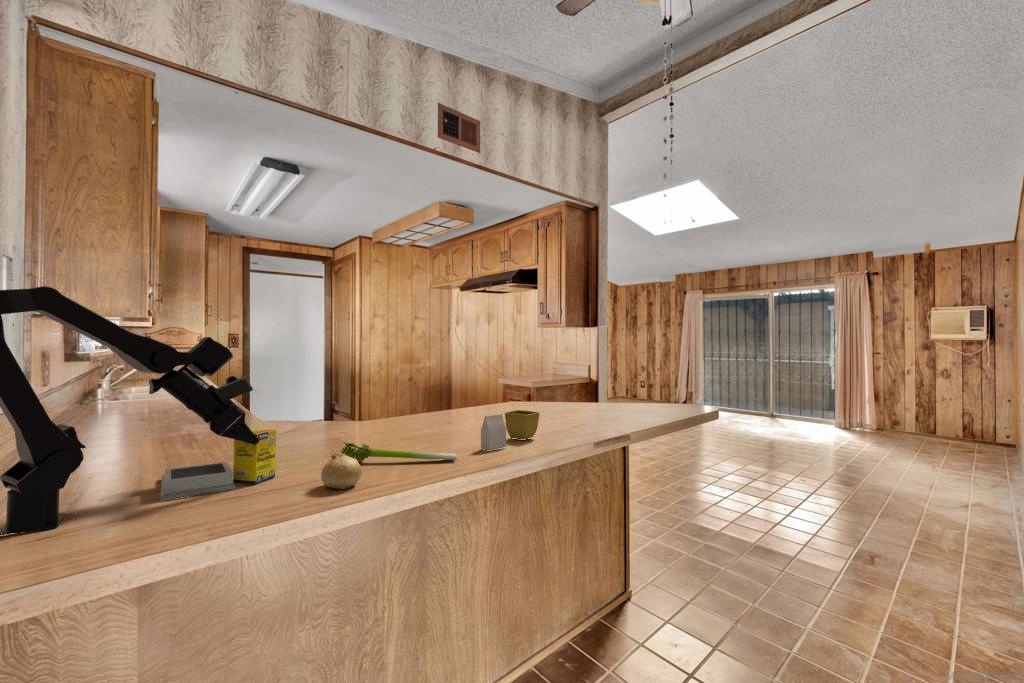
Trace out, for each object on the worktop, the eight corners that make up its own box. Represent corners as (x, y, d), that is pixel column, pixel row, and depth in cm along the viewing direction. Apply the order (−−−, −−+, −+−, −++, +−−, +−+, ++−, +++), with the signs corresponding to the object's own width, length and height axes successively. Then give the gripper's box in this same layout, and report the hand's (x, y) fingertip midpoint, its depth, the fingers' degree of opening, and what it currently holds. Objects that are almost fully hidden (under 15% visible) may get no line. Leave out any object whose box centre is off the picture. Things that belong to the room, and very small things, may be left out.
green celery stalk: (455, 472, 111) (333, 465, 108) (455, 469, 118) (341, 462, 115) (457, 448, 112) (337, 440, 109) (457, 446, 119) (344, 438, 116)
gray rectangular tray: (235, 489, 90) (235, 472, 90) (160, 501, 83) (161, 482, 83) (226, 470, 104) (226, 455, 104) (161, 479, 97) (162, 463, 97)
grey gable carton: (506, 448, 131) (506, 414, 131) (489, 451, 126) (489, 417, 126) (497, 446, 133) (497, 413, 133) (480, 449, 128) (481, 415, 129)
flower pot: (540, 438, 145) (540, 411, 146) (527, 443, 138) (527, 414, 138) (517, 436, 150) (517, 409, 150) (503, 440, 143) (504, 412, 143)
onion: (360, 479, 98) (361, 447, 98) (362, 490, 90) (362, 455, 90) (321, 483, 95) (322, 450, 95) (319, 494, 87) (320, 459, 88)
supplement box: (255, 485, 93) (257, 433, 93) (232, 483, 94) (233, 432, 94) (276, 477, 99) (277, 429, 99) (253, 475, 100) (254, 428, 100)
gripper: (232, 365, 86) (292, 416, 93) (222, 363, 101) (275, 407, 108) (181, 408, 81) (249, 459, 88) (179, 399, 96) (237, 443, 103)
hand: (254, 439), depth 97 cm, fingers open, 9 cm apart
